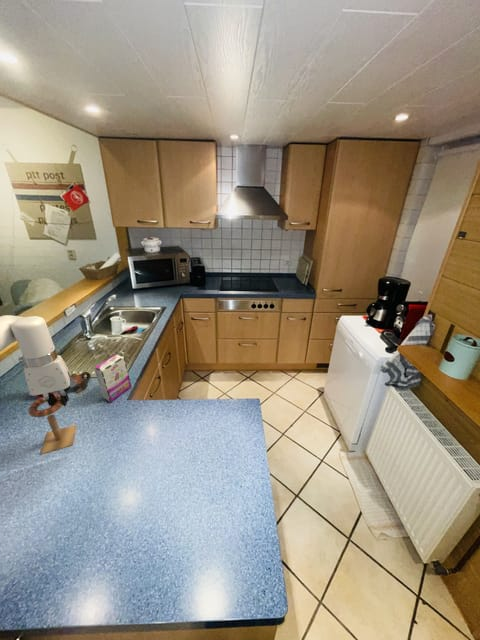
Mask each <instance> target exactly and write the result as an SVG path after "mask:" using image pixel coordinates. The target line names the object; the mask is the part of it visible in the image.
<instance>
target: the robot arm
mask: <svg viewBox="0 0 480 640" xmlns="http://www.w3.org/2000/svg"><path fill="white" fill-rule="evenodd" d="M15 342H16V343H17V345H18V348H19V350H20V352H21V354H22V356H19V357H18V359H17V360H18V362H19V363H22V362H23V363H24V364H25V366H23V372H24V378H25V382H26V384H27V387H28V390H29V391H28V395H29V396H34V397H36V395H37V396H39V397H42V398H44V399H45V400H47V402H46V403H47V404H48V406H49V407H52V406H53V405H54V404H55V403H56V402H57V401H56V399H55V396H54V394H55V392H58V391H59V393H60V395H61V396H60V399H61V401H62V404H63V405H62V407H63V406H64V407H66V406H67V404H68V402H69V401H70V398H69V395H68V392H69V391H70V389H72V388H73V387H76V386H77V385H76V384H77V381H76V380H75V379H73V378H72V377H71V375H72V374H71V372H70V370H69V368H68V365H67V364H66V362H65V360H64V359H63V357H62V356H61V355H60V354H58V353H57V349H56V347H55V344H54V340H53V338H52V335H51V332H50V330H49V327H48V325H47V322H46V320H45V318H44V317H41V316H38V315H30V316H18V315H11V314H6V315H5V314H4V315H1V316H0V352H1V351H4V350H5V349H6V348H8V346H10V345H11V344H13V343H15ZM75 385H76V386H75ZM54 391H55V392H54ZM51 392H54V393H51Z"/></svg>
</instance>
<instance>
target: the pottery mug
mask: <svg viewBox="0 0 480 640" xmlns="http://www.w3.org/2000/svg"><path fill="white" fill-rule="evenodd" d="M85 375H86V378H85ZM91 376H92V375H91V372H89V371H83V372H81V373H80V374H77V373H76V372H74V373H72V374H71V377H72V378H73V379H75V380H76V381H77V384H76V385H75V386H74V387H76V386H77V387H79V388H78V389H77V390H76V391H75V392H76V393H77V394H80V393H82V392H84V391H85V390H86V389H87V388H88V385H89V384H88V382H89V381H90V379H91Z"/></svg>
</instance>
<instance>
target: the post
mask: <svg viewBox="0 0 480 640" xmlns="http://www.w3.org/2000/svg"><path fill="white" fill-rule="evenodd" d="M46 420H47V422H48V424H49V427H50V429H51V431H48V432H46V435H45V437H44V441H43V444H42V447H41V450H40V453H39V454H40V456H41V455H46V454H48V453H52V452H55V451H60V450H63V449H66V448H69V447H72V446H74V443H75V437H76V433H77V432H76V431H77V424H74V425H69V426H66V427H63V428H60V426H59V423H58V421H57V418H56V416H55V415H54V413H52V414H50V415H47V416H46Z"/></svg>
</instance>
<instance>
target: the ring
mask: <svg viewBox="0 0 480 640" xmlns="http://www.w3.org/2000/svg"><path fill="white" fill-rule="evenodd" d="M53 394H54V396H55V399H56V401H57V402H56V403H55V404H54V405H53V406H52V407H51V406H49V407H47V408H45V409H41V410H40V409H38V408H39V407H40V406H41V405H43V404H46V403H48V402H47V400H45V399H44V398H39V399H38V398H37V399H36V400H35V401H33V402H32V403H31V404H30V406H29V408H28V411H27V412H28V414H29V415H30V416H31V417H32V418H43V417H48V416H49V415H52V414H54V413H56V412H58V411H59V410H60V409H61V408H62V407H63V404H62V401H61V399H60V396H61V393H60V394H59V393H58V394H57V393H53Z"/></svg>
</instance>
